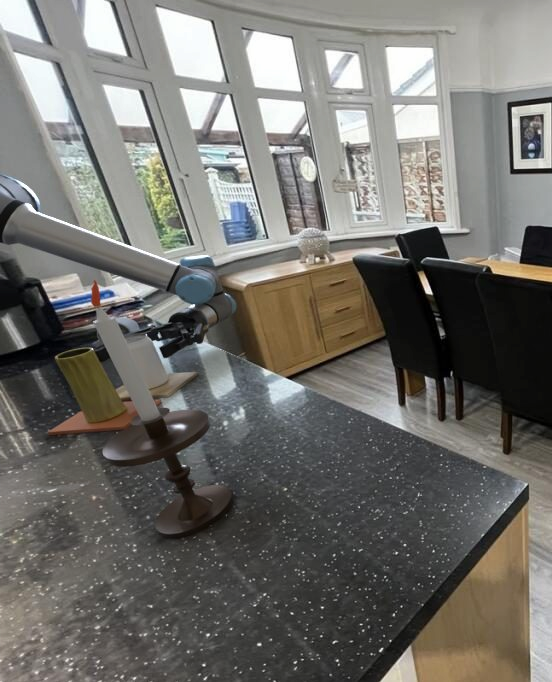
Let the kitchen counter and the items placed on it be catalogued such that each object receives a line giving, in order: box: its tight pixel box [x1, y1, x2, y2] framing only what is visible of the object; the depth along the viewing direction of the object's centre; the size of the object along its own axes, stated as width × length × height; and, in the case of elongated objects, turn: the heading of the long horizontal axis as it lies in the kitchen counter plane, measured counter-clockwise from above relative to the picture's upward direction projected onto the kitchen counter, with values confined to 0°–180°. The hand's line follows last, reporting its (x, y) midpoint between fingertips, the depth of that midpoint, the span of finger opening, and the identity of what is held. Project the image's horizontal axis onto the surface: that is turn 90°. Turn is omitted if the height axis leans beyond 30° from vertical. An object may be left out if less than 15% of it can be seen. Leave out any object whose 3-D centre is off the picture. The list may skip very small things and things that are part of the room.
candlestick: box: [90, 279, 234, 540], centre depth 51 cm, size 11×11×35 cm
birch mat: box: [115, 371, 199, 402], centre depth 93 cm, size 14×11×1 cm
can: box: [124, 333, 169, 390], centre depth 90 cm, size 6×6×12 cm
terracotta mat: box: [47, 398, 162, 436], centre depth 82 cm, size 14×10×1 cm
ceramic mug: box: [92, 317, 140, 349], centre depth 117 cm, size 11×8×8 cm
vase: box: [54, 346, 126, 423], centre depth 79 cm, size 6×6×14 cm
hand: (130, 354), depth 88 cm, fingers open, 13 cm apart
